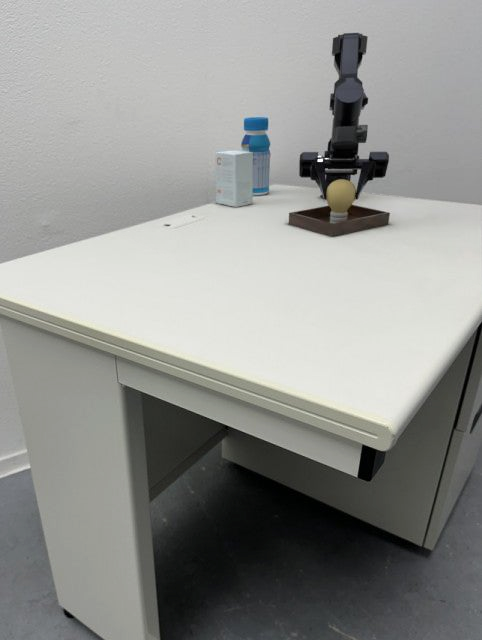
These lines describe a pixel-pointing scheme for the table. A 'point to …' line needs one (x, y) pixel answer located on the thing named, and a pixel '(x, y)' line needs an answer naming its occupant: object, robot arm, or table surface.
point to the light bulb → (340, 199)
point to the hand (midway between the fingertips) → (340, 198)
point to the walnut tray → (355, 222)
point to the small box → (234, 178)
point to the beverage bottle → (258, 152)
